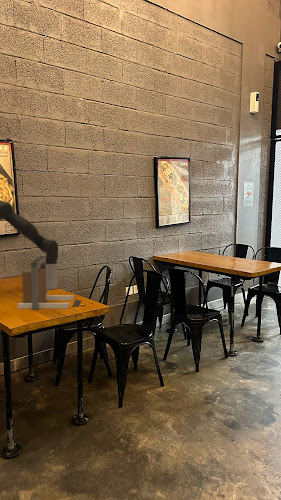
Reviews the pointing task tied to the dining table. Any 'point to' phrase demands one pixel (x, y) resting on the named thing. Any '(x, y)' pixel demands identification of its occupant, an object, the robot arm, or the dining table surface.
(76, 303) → the pad
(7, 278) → the dining table surface
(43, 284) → the wooden block
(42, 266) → the arch
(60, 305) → the walled lane
